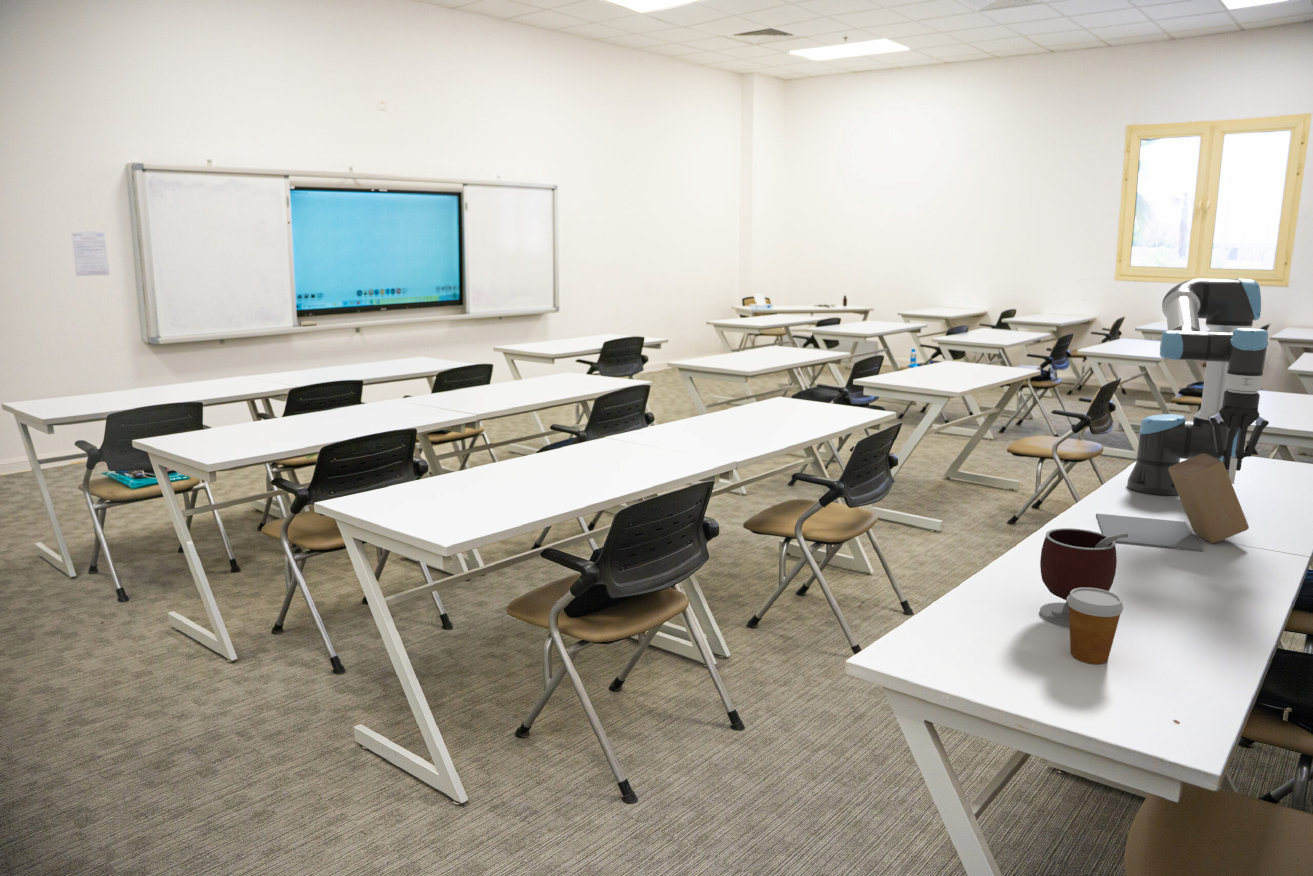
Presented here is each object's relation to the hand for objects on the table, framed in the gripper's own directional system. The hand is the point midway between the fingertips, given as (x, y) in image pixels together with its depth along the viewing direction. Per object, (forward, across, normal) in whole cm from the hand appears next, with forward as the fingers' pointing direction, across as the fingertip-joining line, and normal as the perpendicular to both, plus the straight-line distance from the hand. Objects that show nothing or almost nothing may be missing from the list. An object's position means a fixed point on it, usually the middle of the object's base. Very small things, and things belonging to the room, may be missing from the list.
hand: (1229, 482), depth 226 cm
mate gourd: (+16, -39, -67) cm, 79 cm away
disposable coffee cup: (+16, -39, -85) cm, 94 cm away
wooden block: (+13, 0, 0) cm, 13 cm away
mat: (+15, -17, 0) cm, 23 cm away
